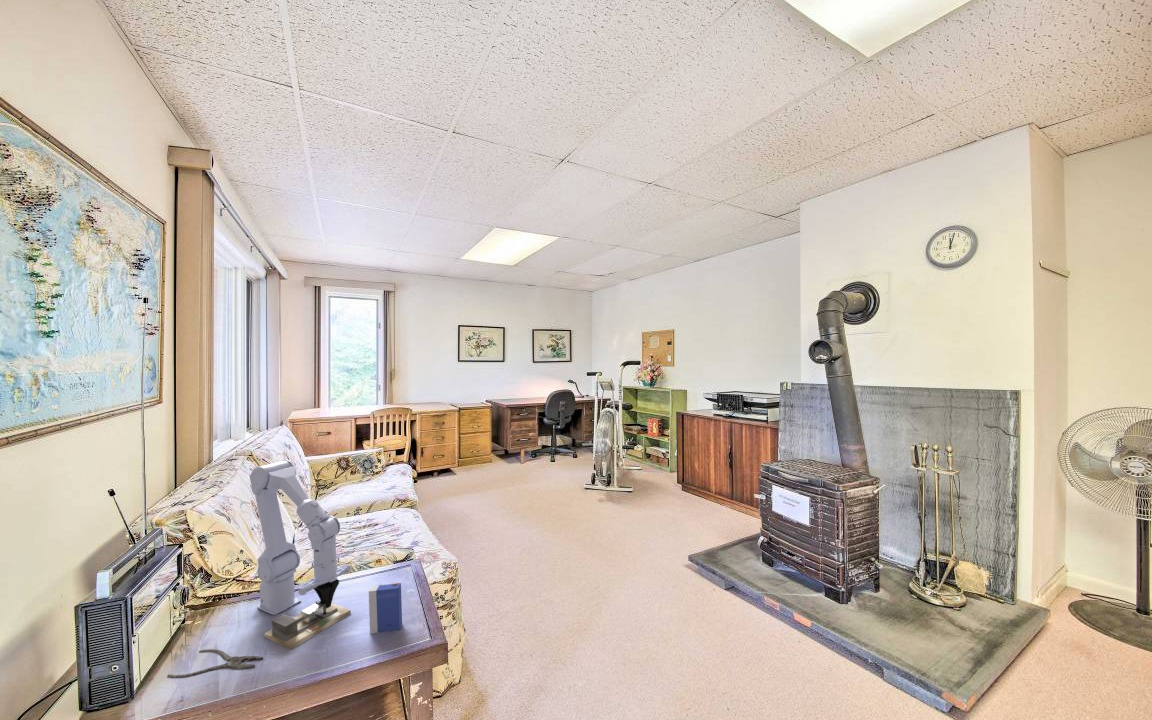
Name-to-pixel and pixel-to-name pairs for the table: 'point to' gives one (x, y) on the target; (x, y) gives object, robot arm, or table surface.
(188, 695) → the table surface
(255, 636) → the table surface
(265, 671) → the table surface
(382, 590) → the walkman
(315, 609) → the block with upright rod
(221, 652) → the pliers
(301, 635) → the bench
